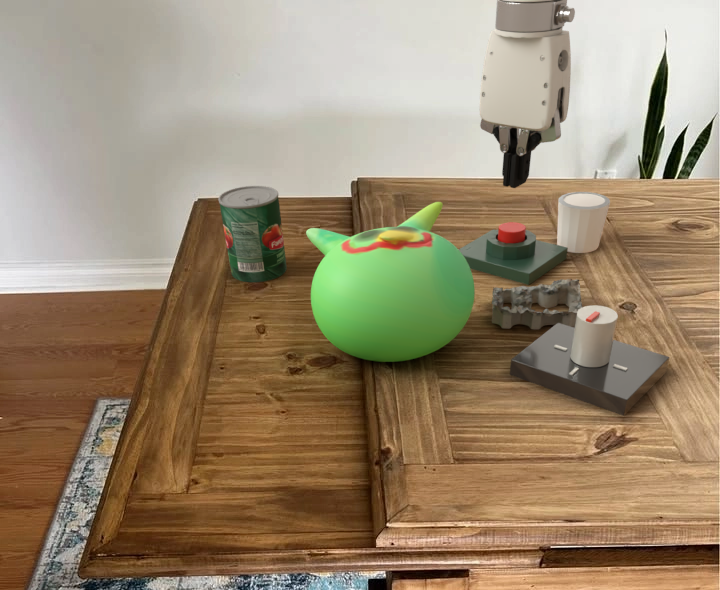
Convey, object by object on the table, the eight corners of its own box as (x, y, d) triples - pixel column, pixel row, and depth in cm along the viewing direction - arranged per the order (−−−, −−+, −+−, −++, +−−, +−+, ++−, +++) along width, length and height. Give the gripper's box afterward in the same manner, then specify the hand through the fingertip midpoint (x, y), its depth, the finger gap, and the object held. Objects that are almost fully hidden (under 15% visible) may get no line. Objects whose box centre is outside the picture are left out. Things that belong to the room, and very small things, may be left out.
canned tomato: (227, 268, 105) (213, 190, 98) (280, 259, 107) (270, 181, 100) (237, 291, 99) (223, 210, 92) (293, 280, 101) (284, 200, 94)
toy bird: (325, 396, 78) (312, 265, 69) (309, 323, 91) (296, 204, 82) (488, 375, 80) (497, 244, 70) (449, 306, 93) (453, 187, 83)
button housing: (566, 262, 101) (569, 234, 98) (528, 289, 95) (531, 260, 93) (491, 243, 107) (493, 216, 104) (452, 267, 101) (453, 239, 99)
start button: (529, 238, 99) (531, 225, 98) (515, 247, 97) (516, 234, 96) (506, 232, 101) (507, 220, 100) (492, 241, 99) (493, 228, 98)
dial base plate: (664, 377, 78) (670, 355, 76) (622, 421, 72) (627, 398, 70) (555, 341, 85) (558, 321, 83) (508, 379, 79) (510, 358, 77)
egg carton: (579, 309, 90) (584, 277, 88) (579, 339, 85) (585, 306, 82) (492, 303, 92) (494, 273, 90) (487, 332, 87) (489, 301, 84)
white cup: (571, 262, 101) (579, 212, 96) (542, 245, 106) (548, 196, 101) (612, 252, 103) (621, 202, 98) (581, 236, 107) (589, 187, 103)
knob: (581, 344, 79) (588, 299, 75) (616, 355, 77) (625, 309, 73) (563, 359, 77) (570, 313, 73) (598, 371, 75) (607, 325, 71)
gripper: (606, 16, 80) (581, 186, 92) (491, 8, 88) (481, 166, 100) (573, 27, 76) (551, 204, 88) (455, 18, 84) (450, 182, 96)
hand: (514, 183), depth 94 cm, fingers closed
